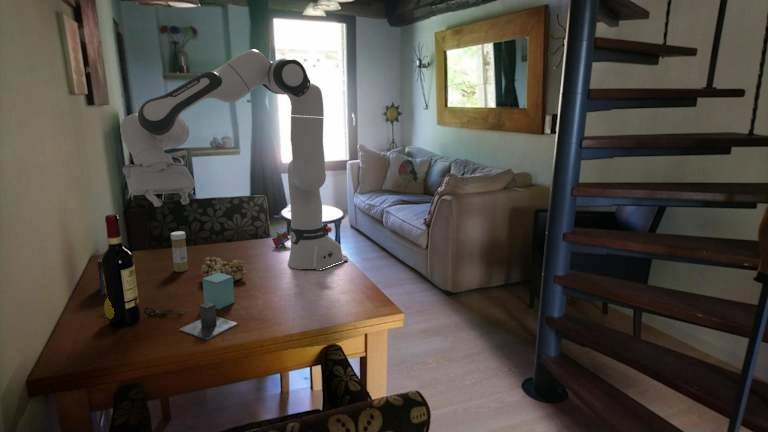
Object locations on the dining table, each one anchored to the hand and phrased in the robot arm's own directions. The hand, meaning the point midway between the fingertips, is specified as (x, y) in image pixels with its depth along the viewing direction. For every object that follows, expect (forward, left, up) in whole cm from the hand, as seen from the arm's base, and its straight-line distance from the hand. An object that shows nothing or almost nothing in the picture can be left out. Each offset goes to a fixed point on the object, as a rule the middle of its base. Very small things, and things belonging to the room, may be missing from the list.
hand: (173, 204), depth 136 cm
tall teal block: (-6, +15, -27) cm, 32 cm away
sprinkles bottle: (-7, -21, -28) cm, 35 cm away
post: (+2, +28, -27) cm, 39 cm away
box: (+15, -16, -28) cm, 35 cm away
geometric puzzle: (-48, -25, -28) cm, 61 cm away
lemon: (+19, +10, -28) cm, 35 cm away
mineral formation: (-14, -3, -28) cm, 31 cm away
